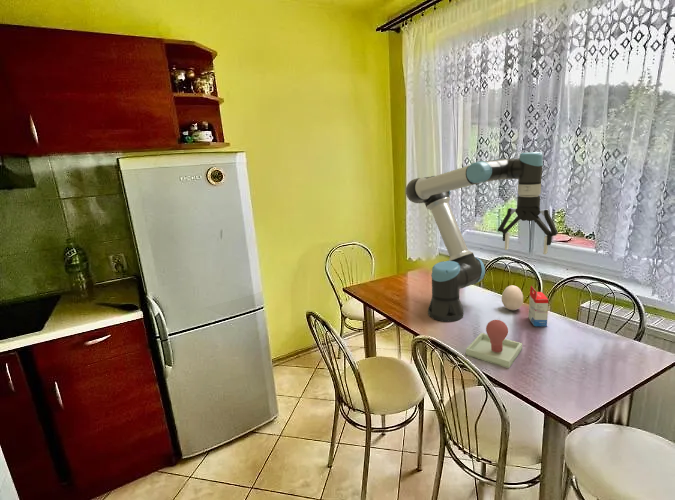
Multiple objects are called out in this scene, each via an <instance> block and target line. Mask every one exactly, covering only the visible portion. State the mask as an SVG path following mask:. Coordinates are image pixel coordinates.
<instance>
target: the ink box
mask: <svg viewBox="0 0 675 500" xmlns="http://www.w3.org/2000/svg"><path fill="white" fill-rule="evenodd" d="M528 301H529V302H528V314H527V315H528V319H529V321H530V322H531V324H532V325H533V326H534V327H547V326H548V315H549V313H548V312H549V299H548V297H547V296H546V295H545V294H544V293H543V292H542V291H537V290H536V289H535V288H534V287H533V286H532V285H530V288H529V300H528Z"/></svg>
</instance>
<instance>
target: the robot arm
mask: <svg viewBox="0 0 675 500" xmlns="http://www.w3.org/2000/svg"><path fill="white" fill-rule="evenodd" d="M543 157H544V156H543V153H542V152H541V151H531V152H521V153H520V154H519V158H495V159H492V160H491V159H490V160H485V161H484V160H480V161H475V162H473V163H471V164H469V165H467V166H463V167H460V168H457V169H454V170H451V171H450V170H449V171H446V172H444V173H441V174H437V175H431V176H425V177H417V178H413V179H411V180H410V181H409V182H408V183H407V184H406V187H405V195H406V198H407V200H409V201H410V202H411V203H414V204H424V205H425V207H426V209H427V210H430V211H431V213H432V217H433V219H434V221H435V223H436V227H437V229H438V231H439V234H440V235H441V236H440V237H441V238H442V241H443V243H444V246H445V248H446V252H447V253H448V256H449V258H448V260H446V261H439V262H437V263H435V264H434V265H433V266H432V269H431V274H430V275H431V299H430V303H429V306H428V309H427V314H428V315H427V316H429V318H431V319H432V320H436V321H438V322H439V321H440V322H456V321H460V320H461V319H463V317H464V308H463V306H462V303H461V299H460V290H462V289H463V288H467V287H469V286H474V285H476V284H477V283H480V282H482V280H483V279H484V277H485V274H486V267H485V264H484V262H483V260H481V259H480V258H478V257H476V256H475V254H474V252H473V251H470V250H469V249H468V247H467V244H466V242H465V240H464V237H463V235H462V232H461V230H460V228H459V225H458V223H457V221H456V218H455V215H454V213H453V210H452V207H451V206H450V204H449V203H450V200H451V198H450V195H451V191H455V190H458V189H462V188H466V187H470V186H474V185H479V184H482V183H483V184H484V183H487V182H492V181H499V180H500V181H501V180H518V182H517V195H518V196H517V198H516V200H517V201H516V208H513V207H509V208H507V212H506V215H505V217H504V218H503V220H502V222H501V223H500V225H499V226H498V229H497V231H498V232H500V233H502V241H503V242H504V250H505V251H508V250H509V249H510V237H511V232H509V231H510V230H511V229H512V228H513V227H514V226H516V224H517V223H518V222H519V221H522V222H524V221H526V222H527V221H528V222H534V223H536V224H537V226H538V227H539V228H540V230H542V232H543V233H544V234H545V236H544V240H543V241H544V242H543V253H542V254H543V255H547V254H548V251H549V246H551V245H552V239H553V237H555V236H557V235H558V234H559V232H558V229H557V228H556V227H557V226H556V225H555V223H554V221H553V218H552V217H551V215H550V214H551V213H550V208H546V209H541V196H540V195H541V192H542V177H543V176H542V175H543V174H542V173H543V166H544V163H543V161H544V159H543ZM514 213H515V214H516V215H517V216H516V217H515V218H514V219H513V220H512V221H511V222H510V223H509V224H508V221H509V220H510V218H511V217H512V215H514ZM540 214H541V215H542V217H543V216H544V219H545V221H546V223H547V225H546V224H545V223H544V222H543V220H542V219H541V218H540ZM507 224H508V225H507ZM506 225H507V226H506ZM547 226H548V227H549V228H548V227H547Z"/></svg>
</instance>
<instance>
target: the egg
mask: <svg viewBox="0 0 675 500" xmlns="http://www.w3.org/2000/svg"><path fill="white" fill-rule="evenodd" d="M501 302H502V305H503V306H504V307H505V308H506V309H507V310H509V311H517V310H519V309H520V308H521V307H522V305H523V303H524V294H523V292H522V290H521V288H520V287H518V286H516V285H512V284H511V285H508V286H506V287H505V289H504V290H503V292H502V294H501Z"/></svg>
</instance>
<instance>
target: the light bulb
mask: <svg viewBox="0 0 675 500" xmlns="http://www.w3.org/2000/svg"><path fill="white" fill-rule="evenodd" d="M485 332H486V334H487V335H488V337H489V338H490V343H491V350H492V351H494V352H501V351H502V350H503V345H502V344H503V343H502V342H503V340H504V339H507V336H508V335H509V328H508V325H507V324H506V323H505V322H504V321H503V320H500V319H492V320H490V321H489V322H488V323H487V324H486V327H485Z"/></svg>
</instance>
